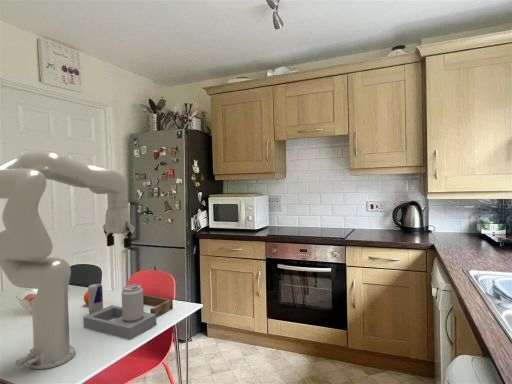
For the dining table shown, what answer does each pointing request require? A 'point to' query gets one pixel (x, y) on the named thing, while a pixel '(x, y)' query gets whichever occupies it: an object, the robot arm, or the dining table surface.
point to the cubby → (158, 304)
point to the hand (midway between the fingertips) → (118, 246)
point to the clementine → (86, 298)
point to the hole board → (118, 322)
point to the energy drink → (95, 298)
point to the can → (132, 303)
